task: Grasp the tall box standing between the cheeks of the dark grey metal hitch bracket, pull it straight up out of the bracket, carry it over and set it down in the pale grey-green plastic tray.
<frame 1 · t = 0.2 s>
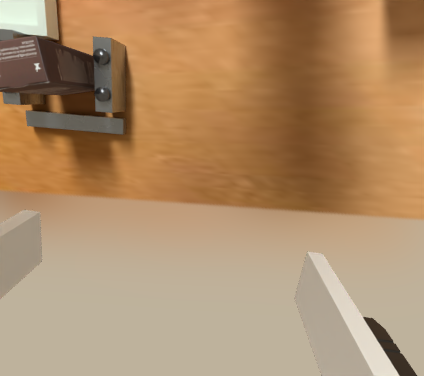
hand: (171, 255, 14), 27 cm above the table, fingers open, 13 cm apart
box: (77, 75, 38), on the table
hitch bracket: (76, 75, 38), on the table
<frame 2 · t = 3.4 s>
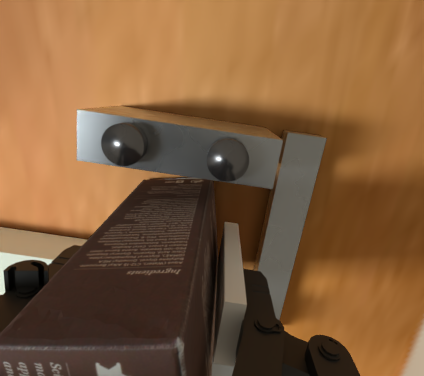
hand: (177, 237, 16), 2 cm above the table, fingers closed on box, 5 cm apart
tray: (11, 317, 21), on the table
box: (180, 222, 18), on the table, touching gripper
hitch bracket: (180, 224, 18), on the table
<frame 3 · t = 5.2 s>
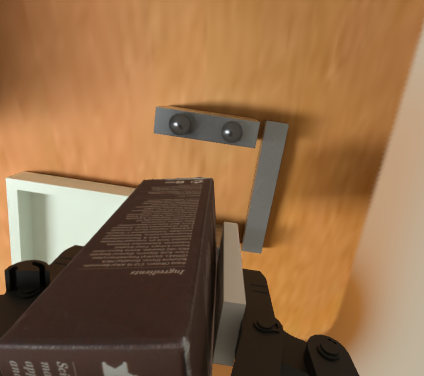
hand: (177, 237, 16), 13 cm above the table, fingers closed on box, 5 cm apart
tray: (91, 243, 32), on the table
box: (179, 222, 18), point 11 cm above the table, touching gripper
hitch bracket: (202, 179, 29), on the table
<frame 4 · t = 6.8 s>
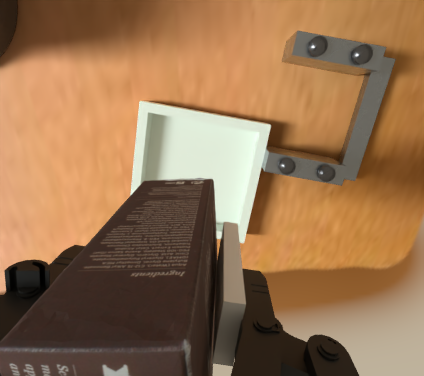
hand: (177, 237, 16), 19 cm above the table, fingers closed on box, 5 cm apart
tray: (197, 171, 35), on the table
box: (180, 223, 18), point 17 cm above the table, touching gripper
hitch bracket: (307, 111, 33), on the table
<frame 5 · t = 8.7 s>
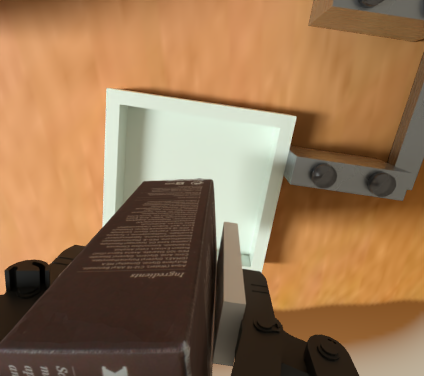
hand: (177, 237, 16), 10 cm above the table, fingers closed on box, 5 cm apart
tray: (193, 183, 26), on the table
box: (179, 223, 18), point 8 cm above the table, touching gripper
hitch bracket: (344, 96, 23), on the table
when the fingers open (3 cm above the table, at t = 10.3 s): box stays where it is, resting on tray.
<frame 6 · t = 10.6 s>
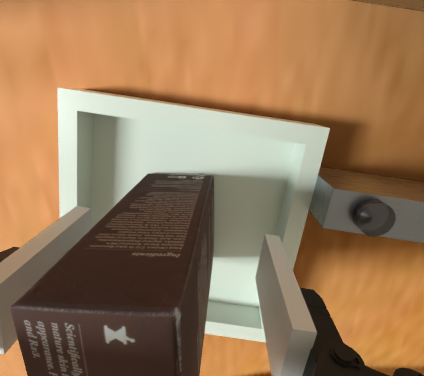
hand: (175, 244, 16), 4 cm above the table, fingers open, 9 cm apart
tray: (185, 214, 19), on the table
box: (180, 216, 19), resting on tray
hitch bracket: (392, 98, 17), on the table
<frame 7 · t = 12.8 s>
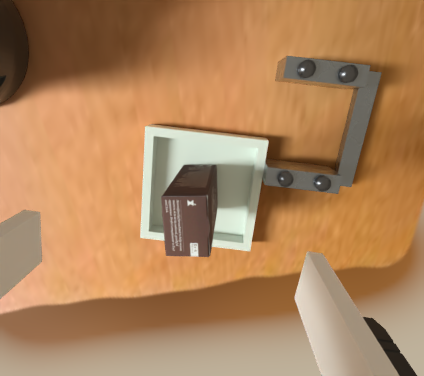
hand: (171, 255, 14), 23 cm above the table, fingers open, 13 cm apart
tray: (202, 186, 37), on the table
box: (199, 186, 37), resting on tray
hitch bracket: (302, 125, 35), on the table
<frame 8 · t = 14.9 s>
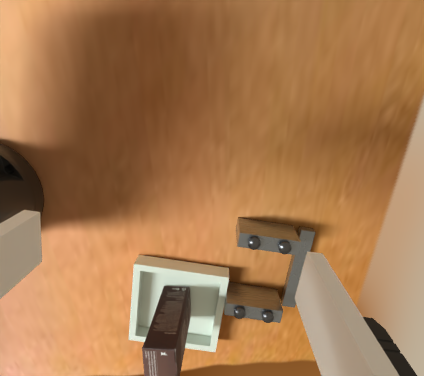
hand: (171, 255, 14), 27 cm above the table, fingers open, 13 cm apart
tray: (179, 298, 47), on the table
box: (176, 300, 47), resting on tray
hitch bracket: (257, 260, 44), on the table
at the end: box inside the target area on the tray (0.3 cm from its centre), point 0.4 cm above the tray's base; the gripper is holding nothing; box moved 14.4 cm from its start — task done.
